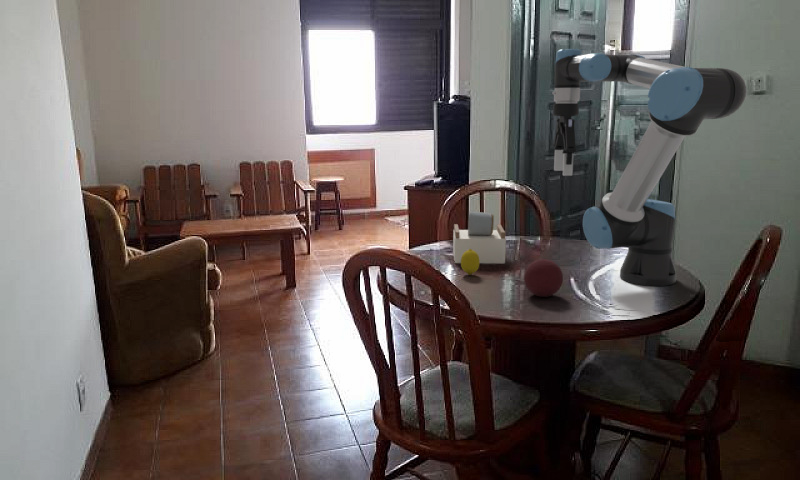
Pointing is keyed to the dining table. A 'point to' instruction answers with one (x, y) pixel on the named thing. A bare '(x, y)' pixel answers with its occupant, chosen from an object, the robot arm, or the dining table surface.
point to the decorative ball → (543, 277)
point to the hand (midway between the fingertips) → (562, 173)
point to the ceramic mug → (480, 223)
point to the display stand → (480, 245)
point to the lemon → (470, 261)
